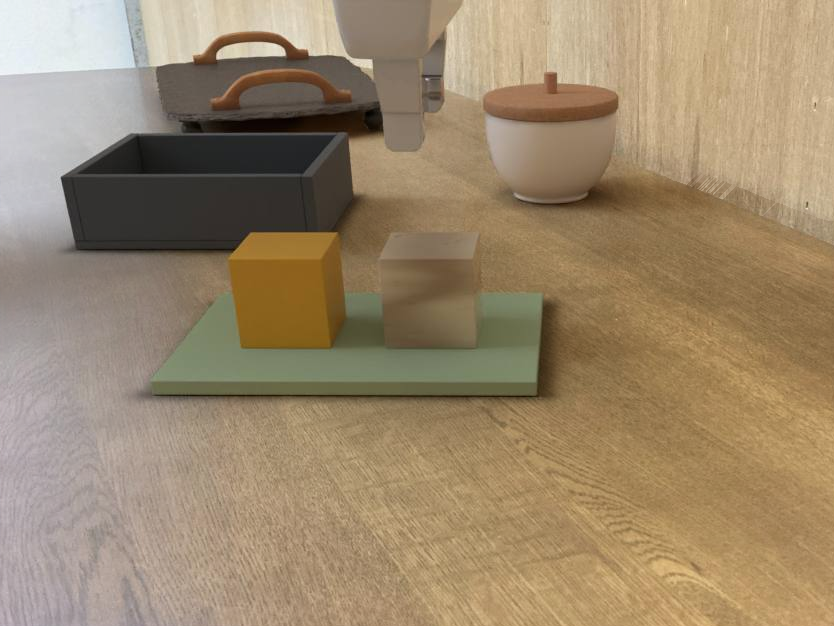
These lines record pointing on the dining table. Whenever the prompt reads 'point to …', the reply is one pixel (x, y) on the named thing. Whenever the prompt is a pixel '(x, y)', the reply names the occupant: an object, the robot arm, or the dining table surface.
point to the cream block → (431, 289)
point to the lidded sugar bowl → (550, 137)
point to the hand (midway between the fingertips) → (417, 128)
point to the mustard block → (288, 289)
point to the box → (207, 189)
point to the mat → (360, 357)
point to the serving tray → (264, 86)
